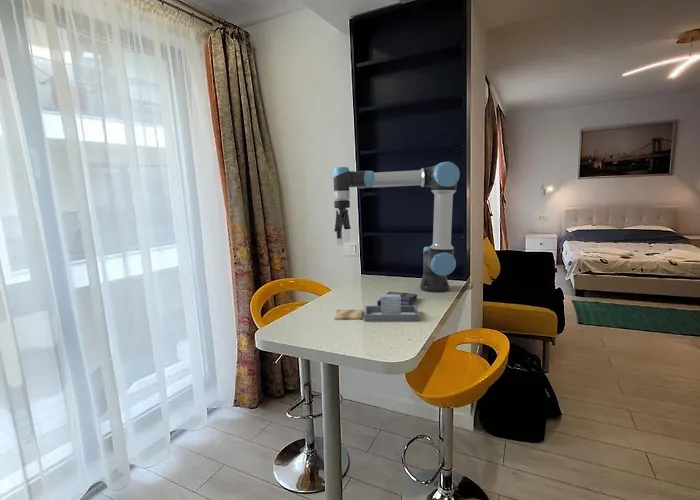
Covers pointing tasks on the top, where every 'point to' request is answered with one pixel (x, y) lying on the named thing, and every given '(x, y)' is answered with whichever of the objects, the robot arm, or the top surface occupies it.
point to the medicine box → (391, 304)
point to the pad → (348, 315)
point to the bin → (391, 316)
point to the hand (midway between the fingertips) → (343, 243)
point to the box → (402, 298)
